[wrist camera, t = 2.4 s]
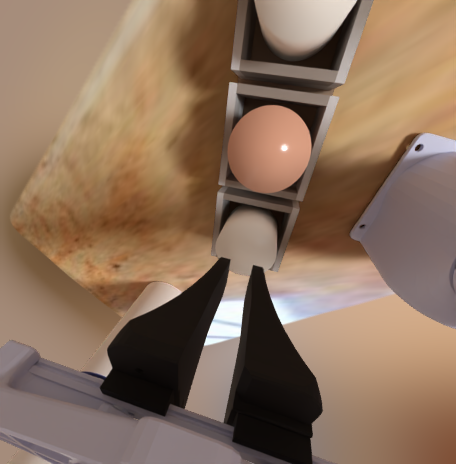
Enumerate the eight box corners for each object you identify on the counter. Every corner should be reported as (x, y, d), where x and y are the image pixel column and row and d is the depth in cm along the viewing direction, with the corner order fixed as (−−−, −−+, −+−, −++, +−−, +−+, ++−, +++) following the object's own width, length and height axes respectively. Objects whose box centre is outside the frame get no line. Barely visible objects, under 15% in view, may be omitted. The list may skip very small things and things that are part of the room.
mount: (279, 247, 22) (279, 274, 18) (220, 233, 23) (208, 256, 19) (377, -51, 11) (427, -135, 7) (258, -56, 12) (247, -134, 8)
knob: (270, 252, 19) (268, 282, 16) (224, 241, 20) (212, 267, 16) (283, 209, 17) (284, 233, 13) (230, 198, 17) (218, 218, 14)
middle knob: (292, 181, 15) (295, 200, 12) (235, 170, 16) (223, 185, 13) (313, 113, 13) (325, 112, 10) (245, 103, 14) (233, 98, 10)
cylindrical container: (179, 281, 29) (-99, 734, 8) (192, 315, 32) (23, 697, 11) (138, 281, 31) (-168, 636, 10) (155, 312, 34) (-48, 630, 13)
